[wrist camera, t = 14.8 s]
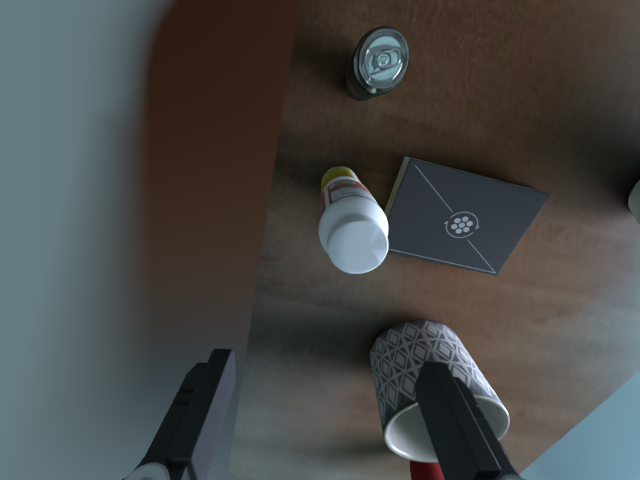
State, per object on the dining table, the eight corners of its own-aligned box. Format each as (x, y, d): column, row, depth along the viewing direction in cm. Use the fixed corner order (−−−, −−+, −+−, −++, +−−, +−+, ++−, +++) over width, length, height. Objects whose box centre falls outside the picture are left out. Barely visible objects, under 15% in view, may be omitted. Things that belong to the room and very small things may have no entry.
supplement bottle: (313, 186, 38) (311, 207, 29) (337, 157, 36) (343, 170, 27) (340, 208, 40) (347, 235, 31) (364, 181, 38) (379, 201, 29)
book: (371, 243, 43) (374, 251, 40) (404, 155, 36) (410, 158, 34) (485, 267, 45) (495, 277, 42) (534, 189, 39) (551, 194, 36)
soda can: (339, 60, 31) (350, 29, 20) (380, 50, 31) (412, 14, 20) (345, 104, 33) (358, 99, 23) (383, 96, 33) (414, 86, 22)
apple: (404, 434, 69) (419, 491, 59) (443, 432, 69) (465, 489, 58) (402, 454, 74) (416, 510, 64) (439, 452, 74) (458, 508, 63)
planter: (358, 371, 57) (371, 459, 43) (377, 307, 49) (402, 389, 34) (438, 378, 59) (478, 466, 44) (471, 316, 50) (534, 400, 35)
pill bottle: (345, 238, 31) (358, 295, 21) (307, 207, 29) (301, 253, 19) (382, 201, 29) (415, 245, 19) (343, 165, 27) (357, 193, 17)
